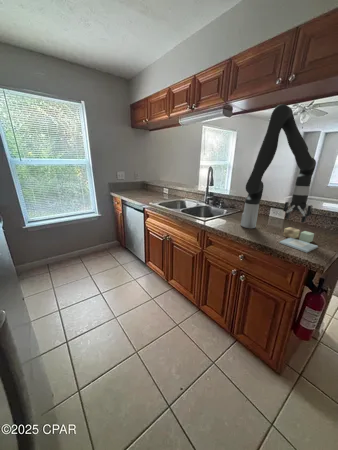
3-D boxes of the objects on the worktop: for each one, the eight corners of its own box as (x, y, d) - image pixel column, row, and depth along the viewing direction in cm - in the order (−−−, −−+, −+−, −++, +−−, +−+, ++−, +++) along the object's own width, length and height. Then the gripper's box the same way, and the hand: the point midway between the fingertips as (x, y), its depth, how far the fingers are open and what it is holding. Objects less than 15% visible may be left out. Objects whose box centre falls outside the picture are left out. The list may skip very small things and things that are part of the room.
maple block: (283, 236, 117) (284, 228, 115) (288, 234, 120) (289, 227, 118) (293, 239, 112) (294, 231, 111) (298, 237, 115) (299, 229, 114)
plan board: (279, 242, 106) (279, 241, 106) (290, 238, 112) (290, 237, 112) (306, 252, 95) (307, 250, 95) (317, 247, 101) (317, 245, 101)
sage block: (298, 240, 111) (300, 232, 109) (302, 238, 113) (304, 230, 112) (308, 243, 107) (310, 235, 105) (312, 241, 109) (314, 233, 108)
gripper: (284, 192, 111) (279, 218, 116) (311, 195, 100) (304, 224, 105) (291, 191, 115) (286, 216, 120) (318, 194, 103) (311, 222, 109)
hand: (294, 220), depth 112 cm, fingers open, 8 cm apart
